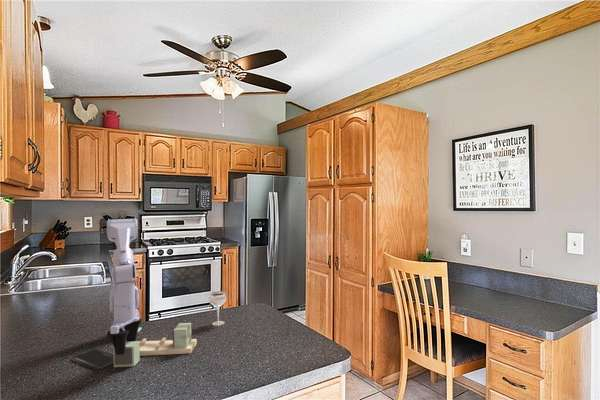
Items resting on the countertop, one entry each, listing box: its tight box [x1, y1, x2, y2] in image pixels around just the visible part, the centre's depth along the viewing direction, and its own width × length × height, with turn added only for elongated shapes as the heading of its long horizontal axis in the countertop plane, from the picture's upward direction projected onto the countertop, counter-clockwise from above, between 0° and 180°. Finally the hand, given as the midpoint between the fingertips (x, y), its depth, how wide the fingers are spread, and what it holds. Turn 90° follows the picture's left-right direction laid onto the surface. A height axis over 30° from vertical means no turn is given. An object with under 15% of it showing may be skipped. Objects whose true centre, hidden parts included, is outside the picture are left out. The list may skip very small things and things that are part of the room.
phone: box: [71, 348, 114, 371], centre depth 109 cm, size 8×1×15 cm
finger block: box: [112, 340, 141, 368], centre depth 106 cm, size 5×6×6 cm
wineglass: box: [208, 290, 227, 326], centre depth 139 cm, size 7×7×12 cm
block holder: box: [139, 322, 198, 357], centre depth 116 cm, size 8×20×8 cm, turn 93°
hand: (126, 348), depth 106 cm, fingers open, 7 cm apart
